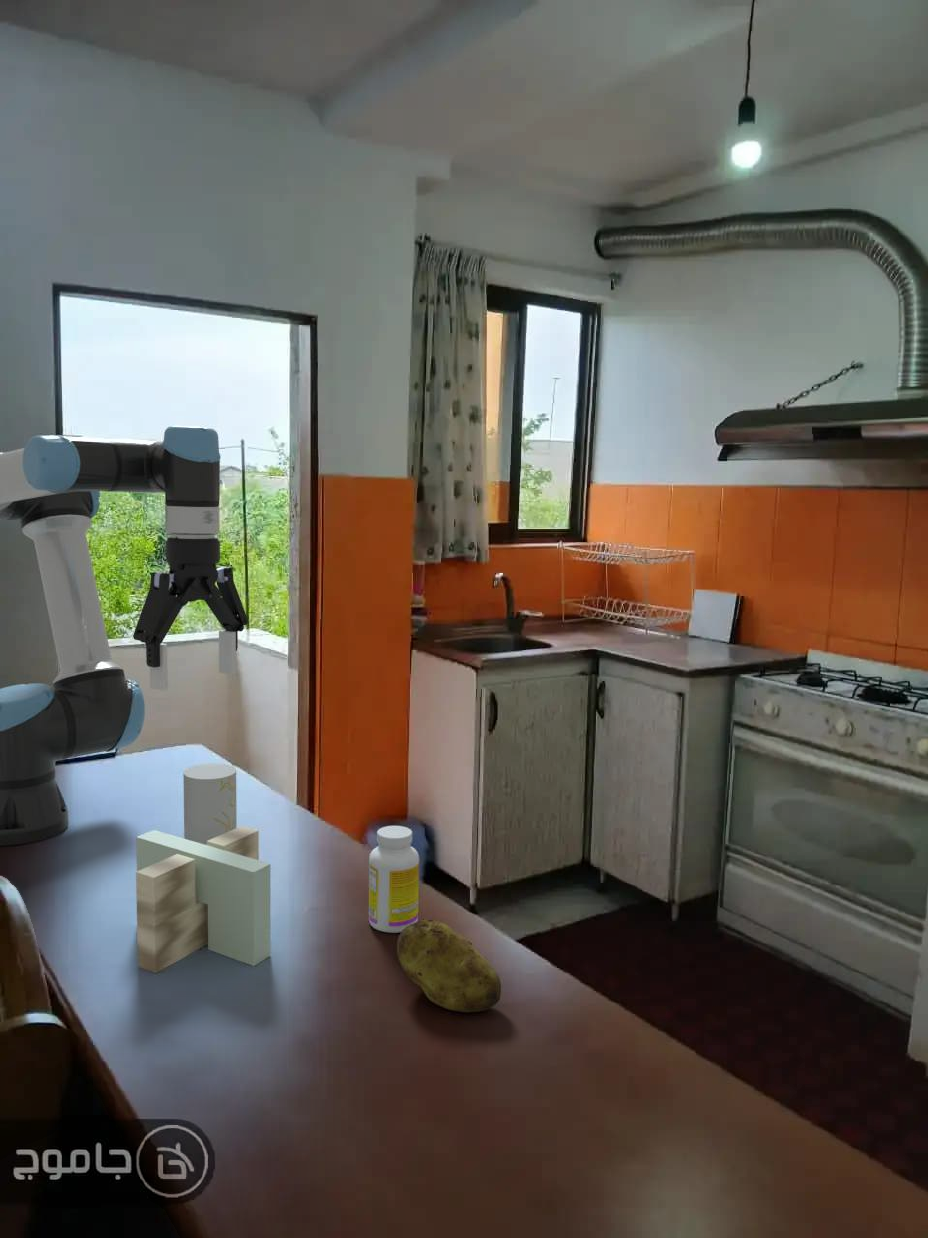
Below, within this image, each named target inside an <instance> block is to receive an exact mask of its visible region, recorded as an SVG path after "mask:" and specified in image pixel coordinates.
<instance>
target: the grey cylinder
mask: <svg viewBox="0 0 928 1238" xmlns="http://www.w3.org/2000/svg"><path fill="white" fill-rule="evenodd" d="M182 773H183V829H184V830H183V831H184V832H183V838H184V839H187V840H190V841H194V842H197V843H201V844H204V845H207V841H208V840H210V839H213V838H215V837H217V836H220V835H222V834H224V833H226V832H229V831H231V830H233V829H236V828H238V824H237V768H236V767H234V766H232V765H230V764H227V763H203V764H202V763H201V764H197V765H192V766H190V767H187V768H185V770H183V772H182Z"/></svg>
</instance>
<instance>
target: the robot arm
mask: <svg viewBox="0 0 928 1238" xmlns="http://www.w3.org/2000/svg"><path fill="white" fill-rule="evenodd" d="M219 445H220V444H219V434H218V431H216V430H215V429H214V428H211V427H204V426H202V427H201V426H188V425H184V426H183V425H172V426H168V427H166V429H165V430H164V435H163V441H162V440H161V441H159V440H158V441H157V440H156V441H155V440H137V439H136V440H134V439H120V438H119V439H116V438H114V439H113V438H95V437H94V438H92V437H81V436H80V437H79V436H67V435H61V434H50V435H35V436H32V437H31V438H29V439H28V441H27V444H25V446H24V447H23V448H18V449H14V450H11V451H7V452H6V451H0V520H1V521H10V520H11V521H15V520H16V521H19V523H20V526H21V530H22V533H23V535H24V536H26V537H28V538H29V539H31V540H32V541H33V543H34V548H35V552H36V557H37V562H38V567H39V572H40V577H41V582H42V586H43V588H42V589H43V592H44V596H45V603H46V608H47V613H48V618H49V623H50V625H51V632H52V637H53V642H54V643H53V644H54V647H55V652H56V657H57V662H58V667H59V673H58V674H57V675H56V677H55V678H54V679H53V682H52V686H53V688H52V687H51V685H50V684H46V683H41V682H38V683H37V682H32V683H27V684H25V683H22V684H15V685H10V686H5V687H1V688H0V846H15V845H23V844H24V845H25V844H28V843H29V844H30V843H34V842H38V841H42V840H46V839H48V838H49V839H50V838H52V837H54V836H56V835H57V834H60V833H62V832H63V831H65V830H66V829H67V827H68V825H69V810H68V806H67V804H66V802H65V800H64V797H63V795H62V792H61V789H60V786H59V784H58V782H57V779H56V762H57V761H62V760H67V759H72V758H77V757H83V756H88V755H93V754H99V753H103V752H106V753H110V752H112V751H115V750H117V749H121V748H122V749H123V748H126V747H129V746H130V745H132V744H134V743H135V742H136V741H137V739H138V738H139V736H140V734H141V732H142V729H143V726H144V723H145V717H146V705H145V698H144V694H143V691H142V689H141V688H140V685H139V684H138V682H136V681H135V680H131V679H128V678H127V679H126V676H125V671H124V668H123V667H122V666H120V665H119V664H117V663H115V662H114V661H113V658H112V654H111V653H112V652H111V647H110V643H109V639H108V634H107V629H106V625H105V620H104V615H103V610H102V606H101V600H100V597H99V591H98V587H97V586H98V585H97V582H96V578H95V577H96V576H95V572H94V567H93V563H92V559H91V558H92V557H91V553H90V549H89V544H88V539H87V538H88V537H87V534H86V533H87V532H88V531H89V529H90V528H91V527H92V525H93V518H94V517H96V515H98V512H99V510H100V505H101V503H100V500H99V498H100V497H101V492H108V493H109V492H111V493H112V492H113V493H114V492H115V493H118V492H120V493H151V494H153V493H154V494H155V493H162V494H163V493H164V499H165V500H164V504H165V505H164V507H165V508H164V511H165V515H164V517H165V519H164V520H165V527H164V528H165V532H166V534H168V535H169V537H167V538H166V539H165V559H166V562H167V563H168V565H169V571H168V573H167V572H160V571H159V572H158V571H153V572H152V573H151V575H150V582H149V590H148V592H147V595H146V599H145V601H144V604H143V607H142V610H141V612H140V615H139V618H138V620H137V623H136V626H135V628H134V631H133V634H132V637H133V640H134V641H139V642H141V643H144V644H145V649H146V650H145V653H146V655H145V658H146V659H145V661H146V666H147V667H148V668H149V688H150V689H153V690H158V691H168V690H169V686H168V685H169V679H168V678H169V676H168V671H169V670H168V643H163V641H164V639H165V637H167V635H168V633H169V630H171V627H172V625H173V624H174V622H175V620H176V619H177V617H178V615H179V614H180V611H181V610H182V608H183V607H185V606H186V605H187V604H188V603H192V602H196V601H198V600H199V601H204V602H205V604H206V605H207V606H208V608H209V609H210V611H211V612H212V614H213V616H214V617H215V618H216V619H217V621H218V622H219V624H220V625H221V627H222V628H223V630H218V673H220V674H224V675H225V674H226V675H231V676H232V675H236V674H237V669H236V668H237V661H236V659H237V657H236V652H237V651H238V649H239V647H238V640H239V638H238V637H239V636H238V634H239V633H238V632H243V630H244V629H245V626H247V625H248V623H249V619H248V616H247V614H246V610H245V608H244V606H243V602H242V600H241V597H240V595H239V593H238V592H239V591H238V589H237V586H236V584H235V581H234V570H233V568H232V567H231V566H221V565H217V564H218V563H220V562H221V540H220V539H219V538H218V537H216V535H219V534H220V527H221V526H220V497H221V495H220V493H221V492H220V490H221V486H220V485H221V483H220V481H221V478H220V477H221V475H220V473H221V468H220V467H221V465H220V464H221V453H220V446H219Z"/></svg>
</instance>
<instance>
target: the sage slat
mask: <svg viewBox="0 0 928 1238" xmlns="http://www.w3.org/2000/svg"><path fill="white" fill-rule="evenodd" d="M135 843H136V844H135V845H136V872H137V871H139V870H142V869H144V868H146V867H148V866H151V865H153V864H155V863H158V862H160V861H162V860H164V859H167V858H169V857H171V856H174V855H176V854H180V855H183V856H186V857H189V858H193V859H195V898H196V901H199V902H202V903H205V904H208V944H207V948H208V949H207V950H208V951H211V952H213V953H217V954H220V955H223V956H224V957H228V958H230V959H232V960H236V961H238V962H241V963H244V964H246V965H250V966H252V967H255V966H257V965H259V963H262V962H263V961H265V960H266V959H268V958H269V957H271V863H269V862H266V861H262V860H260V859H259V860H256V859H252V858H249V857H245V856H242V855H238V854H235V853H232V852H228V851H225V850H221V849H218V848H214V847H211V846H208V845H204V844H201V843H197V842H194V841H190V840H187V839H184V837H180V836H177V835H173V834H169V833H166V832H162V831H160V830H155V829H153V830H150V831H147V832H146V833H143V834H139V835H138V836H136V841H135Z"/></svg>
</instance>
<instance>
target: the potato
mask: <svg viewBox="0 0 928 1238" xmlns="http://www.w3.org/2000/svg"><path fill="white" fill-rule="evenodd" d="M396 944H397V946H396V951H397V952H396V954H397V957H398V960H399V963H400V965H401V967H402V969H403V970H404V971H403V972H405V975H406V976H407V978H409V980H411V982H412V983H414V984H416V985H417V986H420V987H421V989H422V991H423V992H424V994H425V996H426V998H428V999H429V1001H431V1002H432V1003H434V1004H435V1005H437V1006H440V1007H442V1008H443V1009H446V1010H449V1011H455V1012H461V1013H472V1012H477V1013H478V1012H483V1011H487V1010H489V1009H491V1008H493V1007H494V1006H495V1005H496V1004H497V1003H499V1001H500V1000H501V992H502V991H501V990H502V989H501V988H502V987H501V986H502V985H501V983H502V982H501V979H500V976H499V975H498V973H497V971H496V970H495V969H494V967H493V966H492V965H491V964H490V963H489V962H488V960H486V958H485V957H484V956H483V955H482V954H481V953H480V952H479V951H478V950H477V949H475V947H474V946H473V944H472V942H470V941H468V940H467V939H466V938H465V937H464V936H462V935H461V934H458V933H457V932H456V931H454V929H452V928H451V927H450V926H448V925H447V924H446V923H444V922H442V921H440V920H436V919H435V920H434V919H424V918H423V919H420V920H418V921H417V922H416V923H413V924H411V925H408V926H407V927H406V928H405V929H404V930H403V931H402V932H400V934H399V936H398V938H397V943H396Z"/></svg>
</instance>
